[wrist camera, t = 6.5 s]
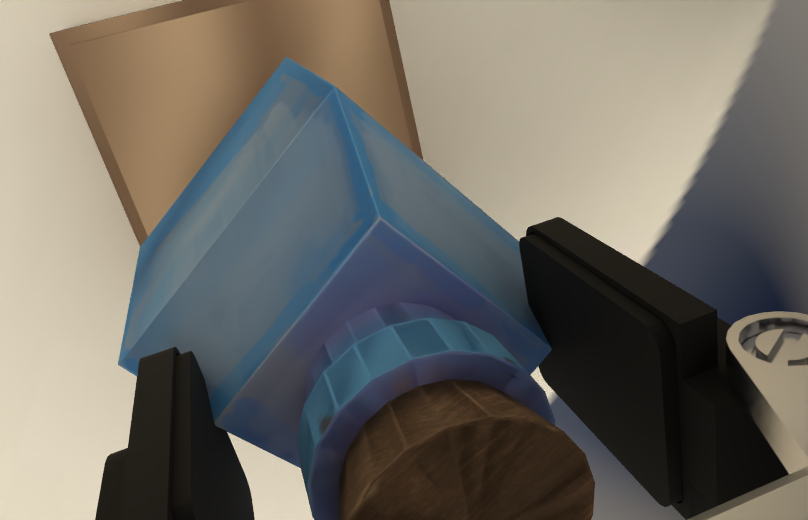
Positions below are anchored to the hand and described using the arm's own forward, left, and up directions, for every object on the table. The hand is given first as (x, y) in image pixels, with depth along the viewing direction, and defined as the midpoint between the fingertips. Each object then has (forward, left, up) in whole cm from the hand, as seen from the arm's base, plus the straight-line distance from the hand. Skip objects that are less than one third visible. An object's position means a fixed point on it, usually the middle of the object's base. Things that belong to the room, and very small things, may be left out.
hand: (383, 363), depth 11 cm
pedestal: (0, 0, -21) cm, 21 cm away
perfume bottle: (0, 0, -8) cm, 8 cm away
